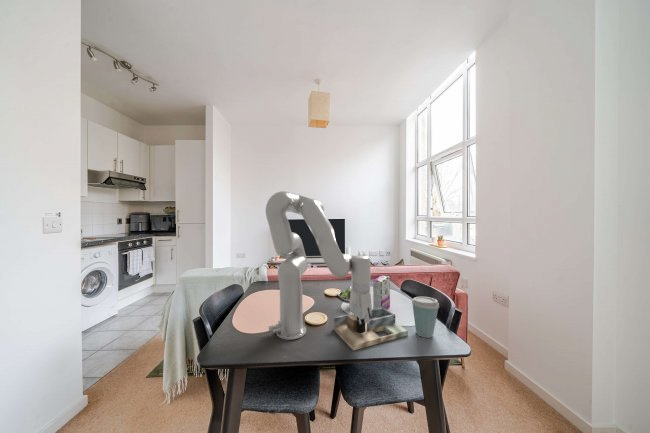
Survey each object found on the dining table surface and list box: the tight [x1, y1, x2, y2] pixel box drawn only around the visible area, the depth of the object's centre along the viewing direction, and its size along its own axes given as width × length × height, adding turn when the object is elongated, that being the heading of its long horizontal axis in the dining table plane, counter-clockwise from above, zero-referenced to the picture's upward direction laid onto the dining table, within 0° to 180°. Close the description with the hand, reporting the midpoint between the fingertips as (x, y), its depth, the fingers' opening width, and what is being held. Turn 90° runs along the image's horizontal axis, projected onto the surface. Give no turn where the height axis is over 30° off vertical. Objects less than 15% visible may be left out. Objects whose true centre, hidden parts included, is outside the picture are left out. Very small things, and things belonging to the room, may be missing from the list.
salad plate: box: [337, 286, 351, 303], centre depth 140 cm, size 19×18×5 cm
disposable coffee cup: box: [411, 296, 440, 339], centre depth 98 cm, size 11×11×15 cm
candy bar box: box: [372, 274, 391, 310], centre depth 124 cm, size 11×5×16 cm, turn 143°
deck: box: [333, 307, 409, 351], centre depth 100 cm, size 26×17×6 cm, turn 114°
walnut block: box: [346, 313, 357, 333], centre depth 99 cm, size 5×5×5 cm
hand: (360, 331), depth 94 cm, fingers closed
